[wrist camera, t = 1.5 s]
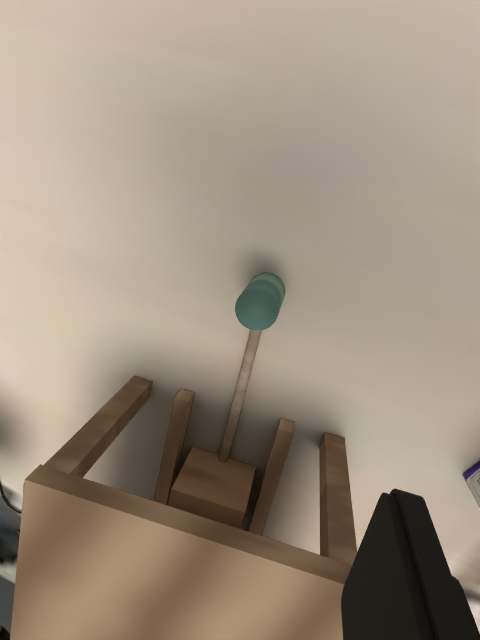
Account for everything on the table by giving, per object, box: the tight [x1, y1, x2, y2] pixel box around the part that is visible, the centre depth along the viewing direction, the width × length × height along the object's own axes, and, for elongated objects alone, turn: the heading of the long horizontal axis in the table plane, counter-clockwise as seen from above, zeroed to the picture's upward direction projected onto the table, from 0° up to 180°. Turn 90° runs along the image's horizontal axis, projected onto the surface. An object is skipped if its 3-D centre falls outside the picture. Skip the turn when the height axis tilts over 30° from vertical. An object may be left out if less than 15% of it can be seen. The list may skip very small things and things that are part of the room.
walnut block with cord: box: [168, 273, 285, 529], centre depth 29 cm, size 19×5×5 cm, turn 167°
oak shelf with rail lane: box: [10, 376, 357, 640], centre depth 28 cm, size 16×14×13 cm
